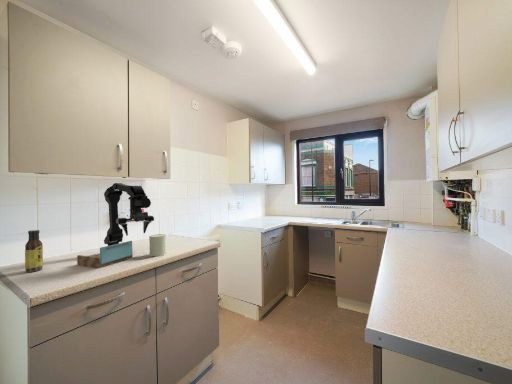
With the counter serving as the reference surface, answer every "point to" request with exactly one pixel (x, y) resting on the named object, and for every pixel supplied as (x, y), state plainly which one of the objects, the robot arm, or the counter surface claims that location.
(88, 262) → the flatbed
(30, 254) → the sauce bottle
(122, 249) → the teal flat rectangular block
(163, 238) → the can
